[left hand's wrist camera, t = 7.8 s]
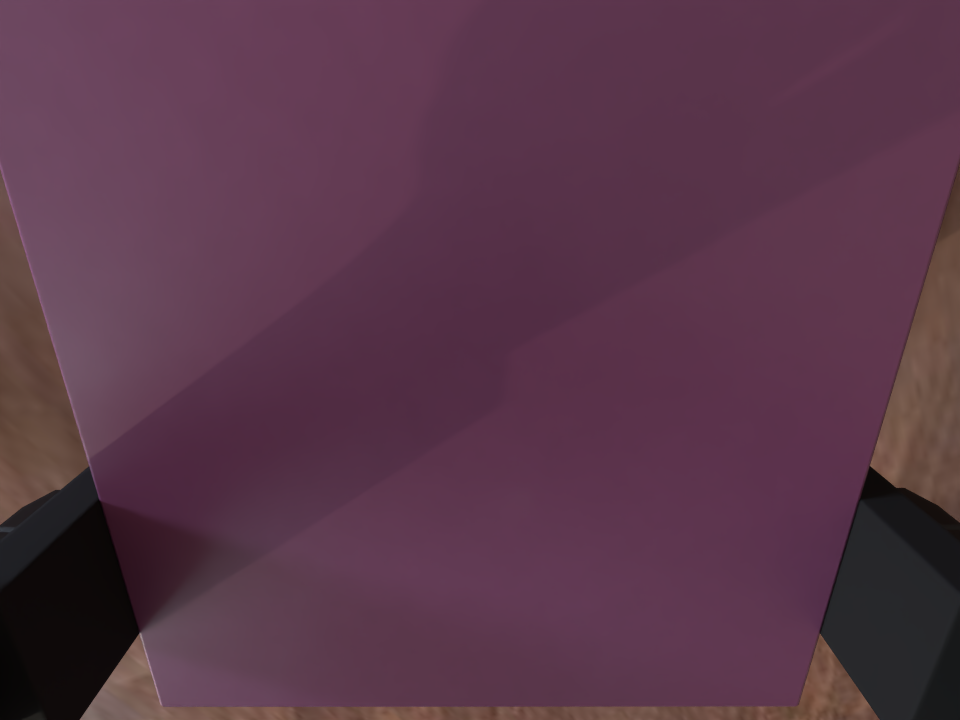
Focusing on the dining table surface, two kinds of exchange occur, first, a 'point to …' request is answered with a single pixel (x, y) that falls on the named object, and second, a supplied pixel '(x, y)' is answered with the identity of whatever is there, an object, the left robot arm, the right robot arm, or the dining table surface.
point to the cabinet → (479, 327)
